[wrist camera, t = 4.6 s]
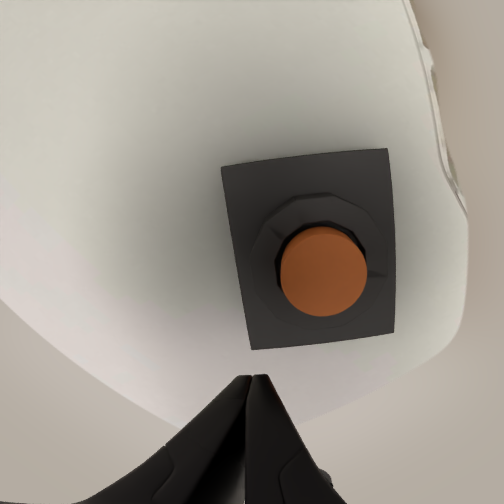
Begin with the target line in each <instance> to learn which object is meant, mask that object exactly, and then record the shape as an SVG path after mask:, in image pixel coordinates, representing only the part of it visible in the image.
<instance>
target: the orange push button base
mask: <svg viewBox="0 0 504 504" xmlns="http://www.w3.org/2000/svg"><path fill="white" fill-rule="evenodd" d="M221 174H222V181H223V187H224V193H225V200H226V206H227V212H228V218H229V224H230V230H231V236H232V242H233V248H234V254H235V260H236V266H237V272H238V278H239V283H240V289H241V295H242V301H243V306H244V312H245V318H246V323H247V329H248V335H249V340H250V346H251V350H259V349H272V348H283V347H293V346H303V345H312V344H321V343H329V342H337V341H344V340H351V339H358V338H365V337H371V336H378V335H384V334H389V333H394V322H395V293H396V253H395V224H394V207H393V194H392V182H391V172H390V163H389V154H388V149H387V148H381V149H366V150H353V151H341V152H330V153H320V154H311V155H302V156H293V157H285V158H277V159H270V160H263V161H256V162H249V163H242V164H236V165H230V166H223V167H221ZM319 226H325V227H331V228H335V229H337V230H339V231H341V232H343V233H344V234H346V235H347V236H348V237H349V238H350V239H351V240H352V241H353V242H354V244H355V245H356V246H357V247H358V249H359V250H360V251H361V253H362V255H363V256H364V259H365V262H366V266H367V279H366V284H365V287H364V289H363V292H362V293H361V295H360V297H359V298H358V299H357V300H356V302H355V303H354V304H353V305H351V306H350V307H349V308H348V309H346V310H344V311H342V312H340V313H338V314H335V315H330V316H313V315H309V314H306V313H304V312H302V311H300V310H299V309H297V308H296V307H294V306H293V305H292V304H291V303H290V302H289V300H288V299H287V297H286V296H285V294H284V292H283V289H282V285H281V260H282V255H283V253H284V250H285V248H286V246H287V245H288V243H289V242H290V241H291V240H292V239H293V238H294V237H295V236H296V235H297V234H299V233H300V232H302V231H304V230H306V229H309V228H312V227H319Z"/></svg>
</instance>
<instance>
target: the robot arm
mask: <svg viewBox="0 0 504 504" xmlns="http://www.w3.org/2000/svg"><path fill="white" fill-rule="evenodd" d="M244 500H245V504H347V503H345V501H344V500H343V499H342V498H341V497H340V496H339V494H338V493H337V492H336V491H335V490H334V489H333V484H332V483H329V482H328V481H327V480H326V478H325V477H324V476H323V474H322V473H321V472H320V470H319V468H318V467H317V465H316V464H315V462H314V461H313V459H312V457H311V455H310V453H309V452H308V450H307V448H306V447H305V445H304V443H303V441H302V439H301V437H300V435H299V433H298V432H297V430H296V428H295V426H294V424H293V422H292V420H291V418H290V417H289V415H288V413H287V411H286V409H285V407H284V405H283V403H282V401H281V399H280V397H279V396H278V394H277V392H276V390H275V388H274V386H273V384H272V382H271V380H270V378H269V376H268V375H267V374H259V375H254V376H253V377H252V376H251V375H239V376H237V377H236V378H235V379H234V380H233V381H232V382H231V383H230V384H229V385H228V386H227V387H226V388H225V389H224V390H223V391H222V392H221V393H220V394H219V395H217V396H216V397H215V398H214V399H213V400H212V401H211V402H210V403H209V404H208V405H207V406H206V407H205V408H204V409H203V410H202V411H201V412H200V413H199V414H198V415H197V416H196V417H194V418H193V419H192V420H191V421H190V422H189V423H188V424H187V425H186V426H185V427H184V428H183V429H182V430H180V431H179V432H178V433H177V434H176V435H175V436H174V437H173V438H172V439H171V440H170V441H168V442H167V443H166V445H165V446H163V447H161V448H160V449H159V450H158V451H157V452H156V453H155V454H154V455H152V456H151V457H150V458H149V459H147V460H146V461H145V462H144V463H142V464H141V465H140V466H138V467H137V468H135V469H134V470H133V471H131V472H130V473H128V474H127V475H126V476H124V477H122V478H121V479H119V480H118V481H116V482H115V483H113V484H111V485H110V486H108V487H107V488H105V489H103V490H102V491H100V492H98V493H97V494H96V495H93V496H92V497H90V498H88V499H86V500H83V501H81V502H77V503H73V504H244ZM0 504H25V503H11V502H2V501H0Z"/></svg>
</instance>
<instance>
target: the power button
mask: <svg viewBox="0 0 504 504" xmlns="http://www.w3.org/2000/svg"><path fill="white" fill-rule="evenodd" d="M366 279H367V266H366V262H365V259H364V256H363V255H362V253H361V251H360V250H359V249H358V247H357V246H356V245H355V244H354V242H353V241H352V240H351V239H350V238H349V237H348V236H347V235H346V234H344V233H343V232H341V231H339V230H337V229H335V228H331V227H325V226H319V227H312V228H309V229H306V230H304V231H302V232H300V233H299V234H297V235H296V236H295V237H294V238H293V239H292V240H291V241H290V242H289V243H288V245H287V246H286V248H285V250H284V253H283V255H282V260H281V285H282V289H283V292H284V294H285V296H286V297H287V299H288V300H289V302H290V303H291V304H292V305H293V306H294V307H296V308H297V309H299V310H300V311H302V312H304V313H306V314H309V315H313V316H330V315H335V314H338V313H340V312H342V311H344V310H346V309H348V308H349V307H350V306H351V305H353V304H354V303H355V302H356V300H357V299H358V298H359V297H360V295H361V293H362V292H363V289H364V287H365V284H366Z"/></svg>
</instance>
